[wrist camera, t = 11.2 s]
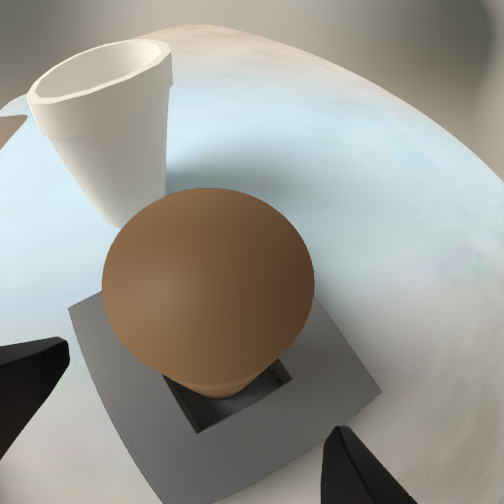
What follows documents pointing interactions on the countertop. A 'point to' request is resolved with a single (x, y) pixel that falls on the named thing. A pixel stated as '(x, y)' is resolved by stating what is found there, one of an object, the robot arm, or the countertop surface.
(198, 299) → the peg
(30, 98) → the foam cup
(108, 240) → the countertop surface
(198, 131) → the countertop surface
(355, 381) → the socket block
